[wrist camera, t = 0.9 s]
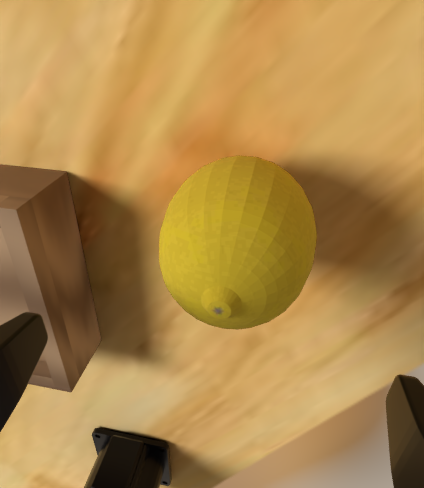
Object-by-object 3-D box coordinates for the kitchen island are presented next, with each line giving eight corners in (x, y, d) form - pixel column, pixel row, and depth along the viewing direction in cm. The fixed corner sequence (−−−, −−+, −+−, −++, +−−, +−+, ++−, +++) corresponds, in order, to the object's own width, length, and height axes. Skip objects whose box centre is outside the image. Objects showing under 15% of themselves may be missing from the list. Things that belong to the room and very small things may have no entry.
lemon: (302, 115, 15) (302, 209, 8) (321, 233, 18) (333, 375, 11) (174, 145, 17) (92, 243, 10) (210, 248, 19) (162, 379, 13)
